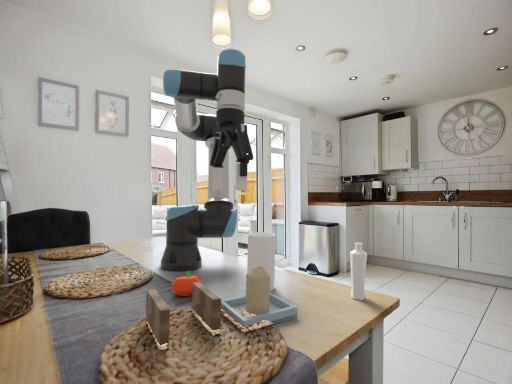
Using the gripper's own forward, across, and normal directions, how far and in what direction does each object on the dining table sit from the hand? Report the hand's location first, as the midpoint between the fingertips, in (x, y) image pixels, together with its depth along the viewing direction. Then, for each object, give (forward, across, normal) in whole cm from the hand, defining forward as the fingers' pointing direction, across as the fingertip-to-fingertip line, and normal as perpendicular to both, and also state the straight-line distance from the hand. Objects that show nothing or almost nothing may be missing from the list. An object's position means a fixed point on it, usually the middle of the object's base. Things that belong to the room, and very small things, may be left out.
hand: (228, 190), depth 73 cm
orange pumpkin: (+29, -8, -8) cm, 31 cm away
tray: (+29, +12, +2) cm, 31 cm away
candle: (+28, +12, +2) cm, 31 cm away
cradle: (+29, +10, -15) cm, 34 cm away
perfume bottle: (+29, +17, +32) cm, 46 cm away
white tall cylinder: (+29, -3, +13) cm, 32 cm away
